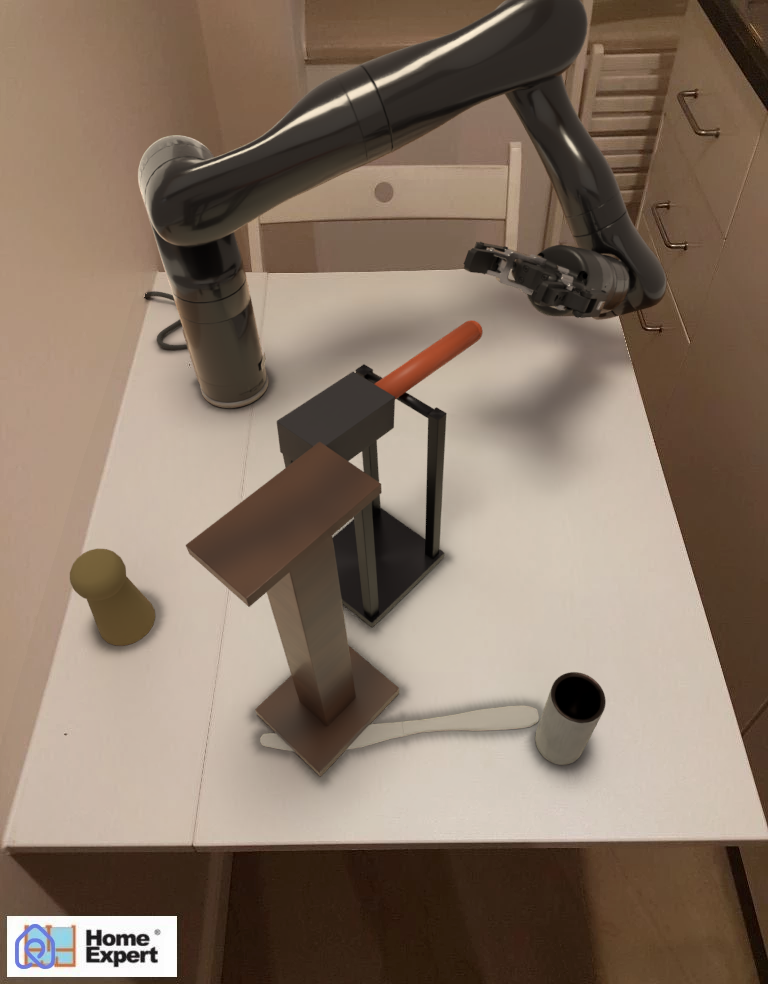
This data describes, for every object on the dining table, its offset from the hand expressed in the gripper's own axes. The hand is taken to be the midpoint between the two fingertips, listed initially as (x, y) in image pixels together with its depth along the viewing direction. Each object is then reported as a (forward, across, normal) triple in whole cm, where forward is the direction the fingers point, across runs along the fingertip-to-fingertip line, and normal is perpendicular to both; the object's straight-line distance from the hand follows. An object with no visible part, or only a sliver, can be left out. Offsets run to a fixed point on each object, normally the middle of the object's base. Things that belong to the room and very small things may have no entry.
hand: (504, 276), depth 69 cm
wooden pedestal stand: (+17, +8, +41) cm, 45 cm away
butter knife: (+14, +15, +40) cm, 45 cm away
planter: (+6, +27, +35) cm, 45 cm away
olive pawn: (+24, -15, +45) cm, 53 cm away
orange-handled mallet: (+11, 0, +12) cm, 16 cm away
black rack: (+4, 0, +34) cm, 34 cm away
